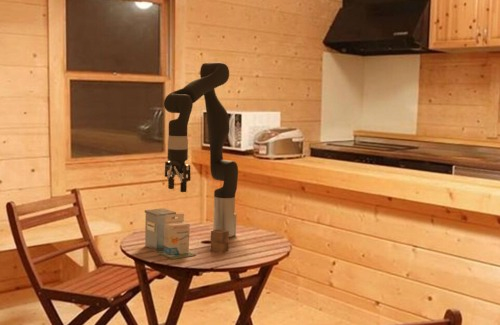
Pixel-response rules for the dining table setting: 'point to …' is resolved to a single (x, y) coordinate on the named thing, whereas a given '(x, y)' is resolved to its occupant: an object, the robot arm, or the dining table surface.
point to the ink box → (176, 235)
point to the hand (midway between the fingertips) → (177, 190)
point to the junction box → (156, 228)
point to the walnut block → (219, 241)
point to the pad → (176, 255)
